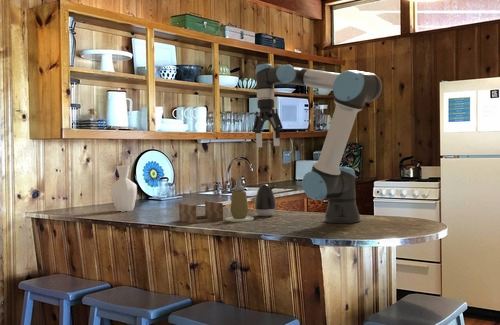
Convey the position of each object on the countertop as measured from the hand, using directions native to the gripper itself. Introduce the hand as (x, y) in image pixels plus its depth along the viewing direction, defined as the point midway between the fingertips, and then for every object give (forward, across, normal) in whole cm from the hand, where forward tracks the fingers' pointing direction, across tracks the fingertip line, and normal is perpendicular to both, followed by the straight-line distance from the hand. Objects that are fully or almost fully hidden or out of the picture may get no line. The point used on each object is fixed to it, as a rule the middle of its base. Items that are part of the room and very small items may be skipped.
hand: (268, 146), depth 249 cm
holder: (+32, +22, +24) cm, 46 cm away
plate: (+32, +11, +10) cm, 36 cm away
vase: (+30, +91, +35) cm, 102 cm away
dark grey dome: (+33, +15, -7) cm, 37 cm away
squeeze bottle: (+32, +11, +10) cm, 35 cm away
